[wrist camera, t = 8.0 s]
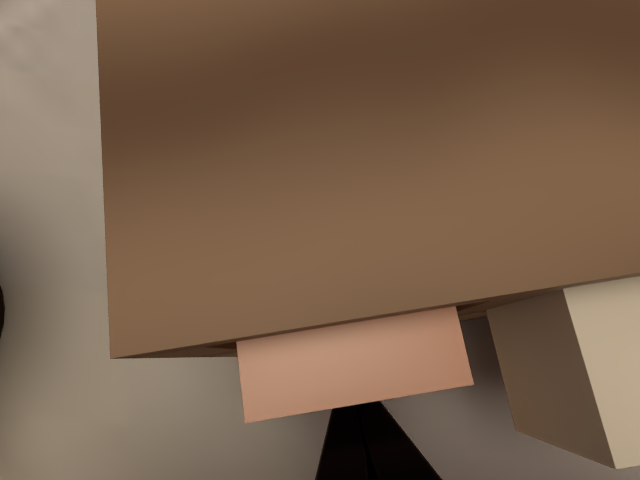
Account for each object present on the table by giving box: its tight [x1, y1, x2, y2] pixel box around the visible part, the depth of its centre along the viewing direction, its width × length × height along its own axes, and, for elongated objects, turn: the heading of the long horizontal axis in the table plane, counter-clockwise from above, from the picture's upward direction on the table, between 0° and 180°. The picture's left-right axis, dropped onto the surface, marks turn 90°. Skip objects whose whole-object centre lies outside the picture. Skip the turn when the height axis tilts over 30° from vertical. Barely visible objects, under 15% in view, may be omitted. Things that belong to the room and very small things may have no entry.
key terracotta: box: [236, 306, 474, 423], centre depth 10 cm, size 6×4×4 cm, turn 9°
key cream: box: [486, 276, 640, 469], centre depth 10 cm, size 6×4×4 cm, turn 9°
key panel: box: [96, 0, 640, 359], centre depth 13 cm, size 8×19×11 cm, turn 99°
